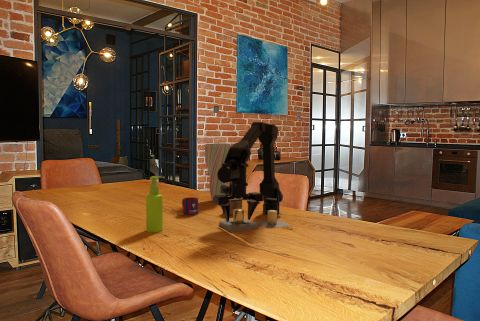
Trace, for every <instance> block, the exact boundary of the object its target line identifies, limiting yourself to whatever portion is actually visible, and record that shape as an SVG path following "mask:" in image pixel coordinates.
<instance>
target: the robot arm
mask: <svg viewBox="0 0 480 321" xmlns="http://www.w3.org/2000/svg"><path fill="white" fill-rule="evenodd" d="M278 133H279V128H278V126H276V124H274V123H266V122H264V121H253V122H252V123H251V124H250V127H249V128H248V129H247V132H246V133H245V134H244V136H243V137H242V138H241V140H239V141H238V142H237V141H236V142H235V143H234V144H231V147H230V149H229V151H228V153H227V156H226V158H225V161H224V163H223V164H222V167H221V168H220V169H219V170H218V173H217V176H218V179H219V180H220V181H221V182H223V183H226V185H221V188H220V191H221V194H225V195H215V196H214V197H213V201H212V203H213V204H216V206H219V207H220V208H221V210H222V213H223V212H224V214H223V215H224V218H225V221H227V222H229V220H230V216H229V214H230V205H228V203H229V201H241V200H242V201H246V203H247V220H249V221H251V219H252V216H253V214H254V212H255V210H256V209H257V207H258V205H259V204H261V202H263V204H262V212H261V214H264V215H267V216H268V210H276V211H277V215H282V213H280V203H281V202H283V198H284V195H283V193H282V191H281V188H280V182H278V180H277V178H276V175H275V174H276V173H275V172H276V171H275V170H276V169H275V168H276V167H275V148H274V147H275V143H276V141H277V139H278ZM258 140H259V141H258ZM257 141H258V142H259V143H260V144H261V146H262V166H263V167H262V170H263V174H262V175H263V179H262V180H261V182H260V183H259V192H257V191H253V192H248V193H247V187H248V186H249V183H248V182H247V168H249V166H250V165H249V164H248V163H247V162H248V161H249V159H250V158H251V157H250V156H251V155H252V151H251V150H252V148H253V146H254V145H255V143H256V142H257ZM227 183H229V185H228V186H227ZM234 198H236V199H234Z"/></svg>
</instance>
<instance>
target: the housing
mask: <svg viewBox="0 0 480 321" xmlns="http://www.w3.org/2000/svg"><path fill="white" fill-rule="evenodd" d="M234 199H236V198H234ZM228 205H230V214H229V217H231V216H232V217H233V210H234V209H243V200H241V201H229V203H228ZM222 215H224V212H223V211H222Z"/></svg>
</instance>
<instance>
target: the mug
mask: <svg viewBox="0 0 480 321" xmlns="http://www.w3.org/2000/svg"><path fill="white" fill-rule="evenodd" d="M181 204H182V215H184V216H197V215H199V198H198V197H194V196H193V197H189V196H188V197H183V198H182V200H181Z"/></svg>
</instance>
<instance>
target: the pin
mask: <svg viewBox="0 0 480 321" xmlns="http://www.w3.org/2000/svg"><path fill="white" fill-rule="evenodd" d="M244 214H245V210H244V209H243V208H242V209H234V210H233V216H232V220H233V225H242V224H244V219H245V218H244V217H245V216H244Z"/></svg>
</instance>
